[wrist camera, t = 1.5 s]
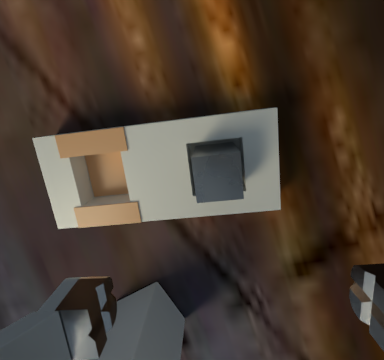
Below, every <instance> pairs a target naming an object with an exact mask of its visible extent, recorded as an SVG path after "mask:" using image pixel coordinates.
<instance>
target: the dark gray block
mask: <svg viewBox="0 0 384 360" xmlns="http://www.w3.org/2000/svg"><path fill="white" fill-rule="evenodd" d="M191 161H192V169H193V177H194V185H195V193H196V201H197V203H205V202H216V201H227V200H238V199H244V193H243V180H242V166H241V152H240V151H239V149H238V148H237V147H236V145H235V144H234V143H233V142H225V143H217V144H208V145H199V146H195V149H194V151H193V154H192V157H191Z"/></svg>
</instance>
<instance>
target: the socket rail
mask: <svg viewBox="0 0 384 360" xmlns="http://www.w3.org/2000/svg"><path fill="white" fill-rule="evenodd" d="M32 139H33V142H34V146H35V149H36V153H37V156H38V160H39V163H40V167H41V170H42V174H43V177H44V181H45V184H46V188H47V191H48V195H49V198H50V202H51V205H52V209H53V212H54V216H55V219H56V223H57V226H58V229H62V228H74V227H79V228H83V227H94V226H106V225H118V224H129V223H141V222H144V221H155V220H167V219H179V218H190V217H202V216H213V215H225V214H237V213H248V212H260V211H272V210H281V203H280V173H279V142H278V112H277V108H264V109H256V110H248V111H240V112H232V113H224V114H216V115H208V116H200V117H192V118H184V119H176V120H168V121H160V122H152V123H144V124H136V125H128V126H120V127H112V128H104V129H96V130H88V131H80V132H72V133H64V134H56V135H50V136H44V137H37V138H32ZM225 142H233V143H234V144H235V145H236V147H237V148H238V149H239V151H240V152H241V166H242V180H243V193H244V199H238V200H227V201H216V202H205V203H197V201H196V193H195V185H194V177H193V169H192V161H191V157H192V154H193V151H194V149H195V146H199V145H208V144H217V143H225Z"/></svg>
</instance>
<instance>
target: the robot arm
mask: <svg viewBox="0 0 384 360" xmlns="http://www.w3.org/2000/svg"><path fill="white" fill-rule="evenodd" d="M351 277H352V278H353V280H354V281H355V283H354V284H353V285H352V286H351V287H350V296H349V297H350V301H351V305H352V308H353V310H354V312H355V314H356V315H357V316H358V318H359V319H360V320H361V321H363V322H365V323H366V324H368V325H370V328H369V332H370V334H371V335H372V336H373V338H374V339H375V340H376V342H377V343H378V344H379V346H380V347H381V348H382V350H383V351H384V264H367V265H354V266H353V268H352V270H351ZM113 287H114V286H113V282H112V279H111V278H110V277H109V276H108V277H82V278H81V277H74V278H67V279H65V280H64V281H63V282H62V283H61V284H60V286H59V287H58V288H57V289H56V290H55V291H54V293H53V294H52V295H51V296H50V297H49V299H48V300H47V301H46V302H45V303H44V304H43V306H42V307H41V308H40V309H39V310H38V311H37V312H32V313H30V314H28V315H27V316H25V317H23V318H21V319H20V320H18V321H16V322H15V323H13V324H11V325H9V326H8V327H6V328H4V329H2V330H1V331H0V360H89V359H99V358H100V355H101V353H102V351H103V349H104V346H105V344H106V342H107V336H106V333H107V332H108V331H109V330H110V329H112V328H113V325H114V323H115V320H116V314H117V302H116V298H115V297H114V296H113V295H112V294H111V291H112V289H113Z"/></svg>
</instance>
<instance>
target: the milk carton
mask: <svg viewBox="0 0 384 360" xmlns="http://www.w3.org/2000/svg"><path fill="white" fill-rule="evenodd" d="M184 324H185V318H184V317H183V315H182V314H181V313H180V311H179V310H178V309H177V307H176V306H175V305H174V303H173V302H172V301H171V299H170V298H169V296H168V295H167V294H166V292H165V291H164V290H163V288H162V287H161V286H160V284H159V283H158V282H155V283H153V284H151V285H149V286H147V287H145V288H143V289H141V290H139V291H137V292H135V293H133V294H131V295H129V296H127V297H125V298H123V299H121V300H119V301H117V314H116V320H115V323H114V325H113V328H112V329H110V330H109V331H108V332H107V333H106V336H107V342H106V344H105V346H104V349H103V351H102V353H101V355H100V358H99V359H89V360H180V358H181V349H182V341H183V332H184Z"/></svg>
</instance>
